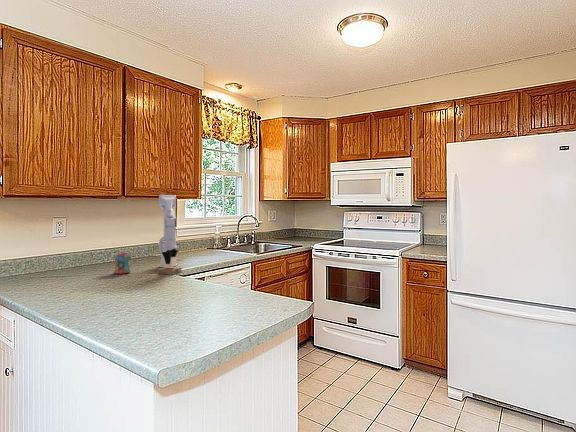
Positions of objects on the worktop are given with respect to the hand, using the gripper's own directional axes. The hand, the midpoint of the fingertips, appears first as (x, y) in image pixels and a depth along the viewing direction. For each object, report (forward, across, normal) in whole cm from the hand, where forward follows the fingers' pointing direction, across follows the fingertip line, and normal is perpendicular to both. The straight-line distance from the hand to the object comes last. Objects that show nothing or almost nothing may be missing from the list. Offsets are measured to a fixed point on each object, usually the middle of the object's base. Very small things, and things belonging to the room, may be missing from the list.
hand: (170, 263), depth 205 cm
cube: (+2, 0, 0) cm, 2 cm away
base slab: (+5, 0, 0) cm, 5 cm away
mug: (+6, +6, -24) cm, 25 cm away
